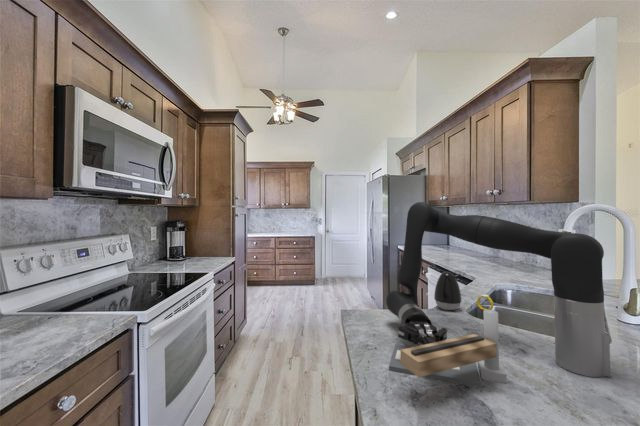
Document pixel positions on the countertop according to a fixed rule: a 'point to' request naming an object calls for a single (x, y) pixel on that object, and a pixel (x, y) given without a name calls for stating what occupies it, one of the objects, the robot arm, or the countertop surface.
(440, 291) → the black egg-shaped device
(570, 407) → the countertop surface
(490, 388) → the countertop surface
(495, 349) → the brown long rectangular block
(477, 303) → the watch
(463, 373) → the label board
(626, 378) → the countertop surface
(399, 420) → the countertop surface
